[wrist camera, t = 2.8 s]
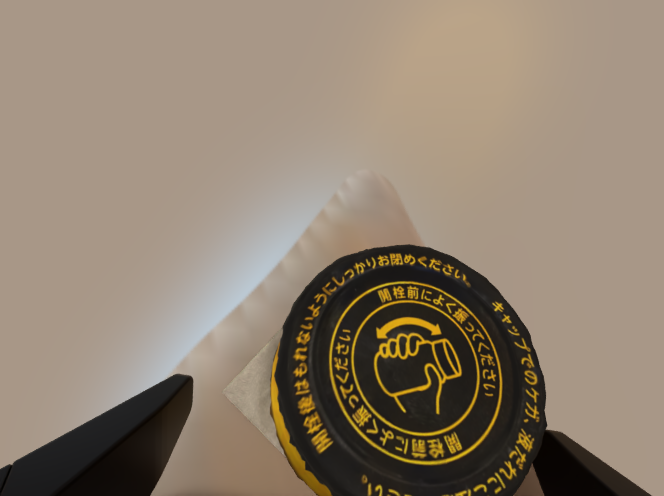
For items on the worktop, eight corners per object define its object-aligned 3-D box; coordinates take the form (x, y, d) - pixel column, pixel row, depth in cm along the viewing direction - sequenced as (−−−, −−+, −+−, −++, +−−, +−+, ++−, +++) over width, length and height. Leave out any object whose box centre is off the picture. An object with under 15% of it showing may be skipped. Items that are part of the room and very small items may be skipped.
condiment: (356, 529, 14) (507, 793, 4) (222, 392, 16) (81, 317, 6) (439, 388, 17) (648, 318, 7) (317, 289, 19) (334, 123, 9)
